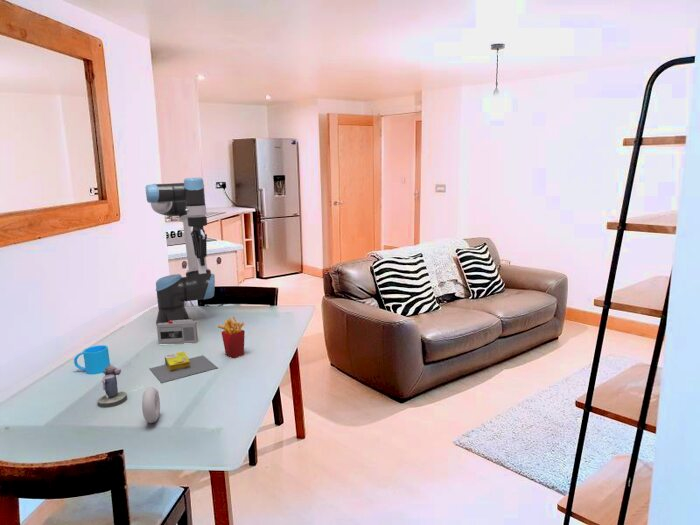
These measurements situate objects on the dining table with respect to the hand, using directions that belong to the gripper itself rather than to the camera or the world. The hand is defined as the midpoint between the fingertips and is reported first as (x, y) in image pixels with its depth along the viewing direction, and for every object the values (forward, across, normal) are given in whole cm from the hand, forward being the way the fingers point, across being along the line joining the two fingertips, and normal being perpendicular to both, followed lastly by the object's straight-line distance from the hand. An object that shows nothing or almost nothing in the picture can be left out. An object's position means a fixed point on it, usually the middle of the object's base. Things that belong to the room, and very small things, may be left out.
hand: (202, 273), depth 206 cm
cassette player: (+30, -6, -11) cm, 32 cm away
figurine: (+30, +36, -44) cm, 64 cm away
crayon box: (+28, +14, -18) cm, 36 cm away
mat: (+29, +24, -18) cm, 42 cm away
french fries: (+30, +23, +1) cm, 38 cm away
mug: (+30, +3, -45) cm, 54 cm away
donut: (+30, +58, -37) cm, 75 cm away
